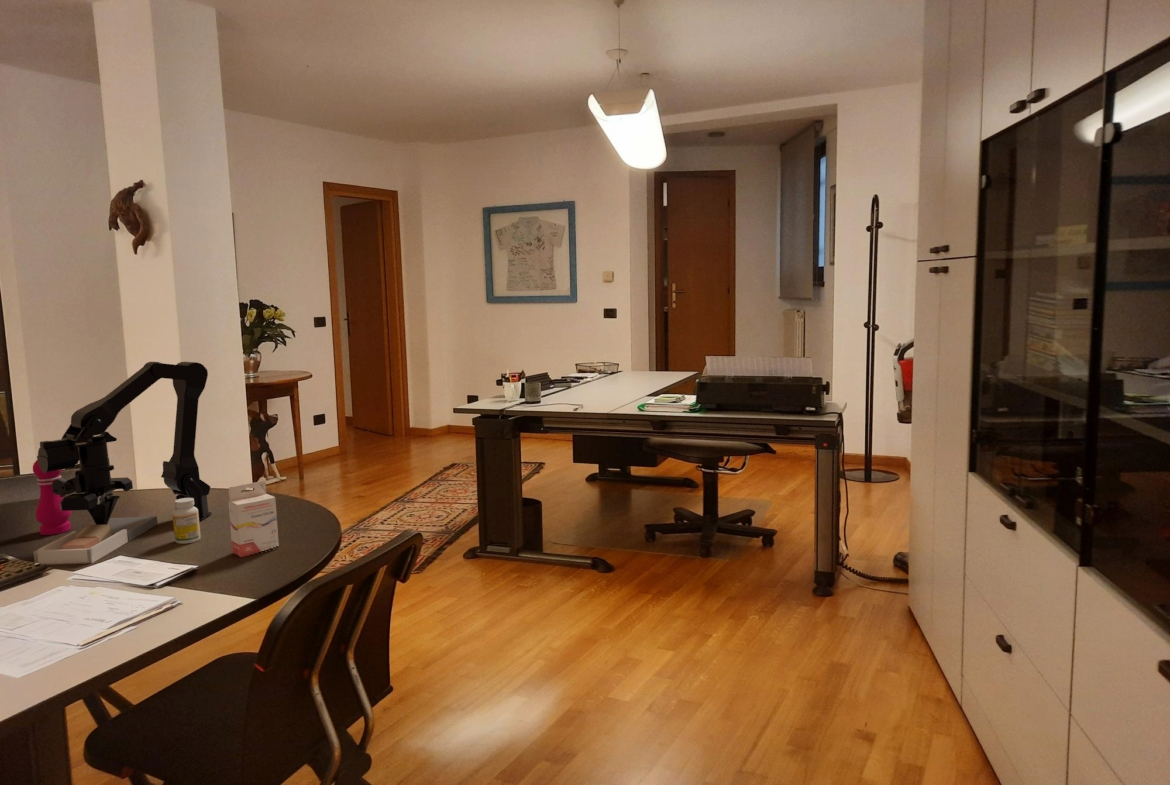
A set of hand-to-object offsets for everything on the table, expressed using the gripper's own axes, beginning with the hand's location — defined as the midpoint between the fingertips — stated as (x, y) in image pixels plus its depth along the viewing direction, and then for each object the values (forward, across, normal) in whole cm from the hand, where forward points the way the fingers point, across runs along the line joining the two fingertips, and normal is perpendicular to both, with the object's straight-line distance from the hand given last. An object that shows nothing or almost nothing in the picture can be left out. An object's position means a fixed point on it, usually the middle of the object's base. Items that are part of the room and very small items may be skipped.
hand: (102, 529), depth 183 cm
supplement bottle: (+3, +1, +20) cm, 20 cm away
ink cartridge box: (+3, +10, +39) cm, 41 cm away
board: (+3, -6, 0) cm, 7 cm away
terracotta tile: (+2, +8, 0) cm, 9 cm away
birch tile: (+2, +3, 0) cm, 3 cm away
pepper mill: (+3, -10, -17) cm, 20 cm away
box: (+3, +8, 0) cm, 8 cm away
